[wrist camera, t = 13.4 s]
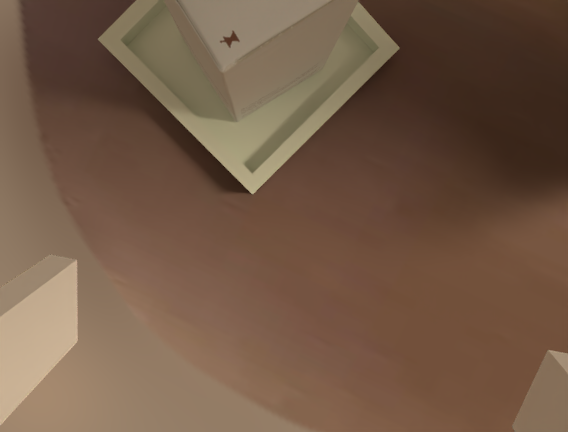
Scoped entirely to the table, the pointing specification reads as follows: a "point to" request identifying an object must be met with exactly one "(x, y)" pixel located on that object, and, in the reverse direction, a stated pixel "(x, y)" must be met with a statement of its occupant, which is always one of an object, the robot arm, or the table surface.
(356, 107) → the table surface
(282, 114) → the tray
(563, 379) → the robot arm
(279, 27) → the supplement box
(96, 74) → the table surface
